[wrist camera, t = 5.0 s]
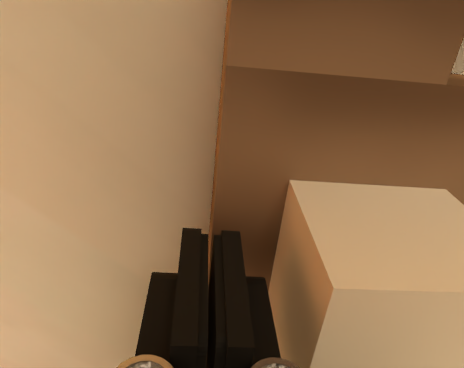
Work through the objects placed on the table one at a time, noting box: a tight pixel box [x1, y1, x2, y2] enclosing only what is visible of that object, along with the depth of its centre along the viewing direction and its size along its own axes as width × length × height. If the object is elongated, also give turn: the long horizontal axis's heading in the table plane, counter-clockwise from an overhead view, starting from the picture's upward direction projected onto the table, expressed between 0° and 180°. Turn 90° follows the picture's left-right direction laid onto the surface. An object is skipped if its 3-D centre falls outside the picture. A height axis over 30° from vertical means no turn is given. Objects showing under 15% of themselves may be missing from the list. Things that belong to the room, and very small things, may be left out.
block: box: [268, 180, 464, 368], centre depth 11 cm, size 5×5×4 cm
